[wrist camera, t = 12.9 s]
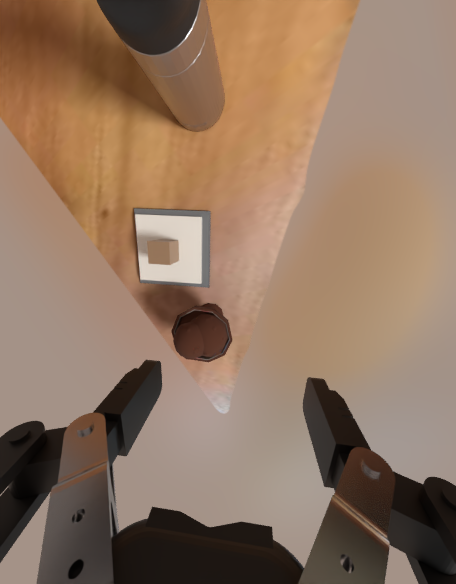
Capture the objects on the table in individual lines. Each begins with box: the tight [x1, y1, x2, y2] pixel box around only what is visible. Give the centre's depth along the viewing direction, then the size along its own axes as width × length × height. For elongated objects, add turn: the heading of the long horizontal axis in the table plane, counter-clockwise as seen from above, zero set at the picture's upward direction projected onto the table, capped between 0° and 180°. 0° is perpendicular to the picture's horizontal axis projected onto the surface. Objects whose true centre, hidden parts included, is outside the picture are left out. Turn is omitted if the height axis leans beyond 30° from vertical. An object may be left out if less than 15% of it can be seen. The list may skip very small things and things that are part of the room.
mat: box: [134, 208, 210, 287], centre depth 43 cm, size 15×15×1 cm
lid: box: [135, 214, 202, 284], centre depth 40 cm, size 13×13×6 cm
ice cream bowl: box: [172, 303, 232, 362], centre depth 40 cm, size 11×11×15 cm
